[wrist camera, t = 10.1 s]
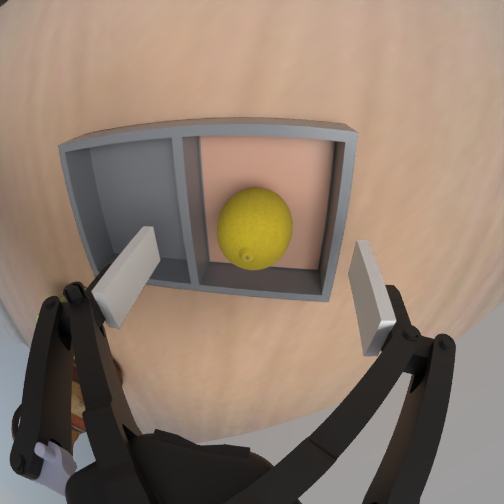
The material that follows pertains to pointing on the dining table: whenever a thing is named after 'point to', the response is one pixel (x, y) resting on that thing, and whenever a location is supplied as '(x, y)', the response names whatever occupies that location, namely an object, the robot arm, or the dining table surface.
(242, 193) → the lemon
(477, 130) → the dining table surface
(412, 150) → the dining table surface
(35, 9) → the dining table surface
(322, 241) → the sorting tray
